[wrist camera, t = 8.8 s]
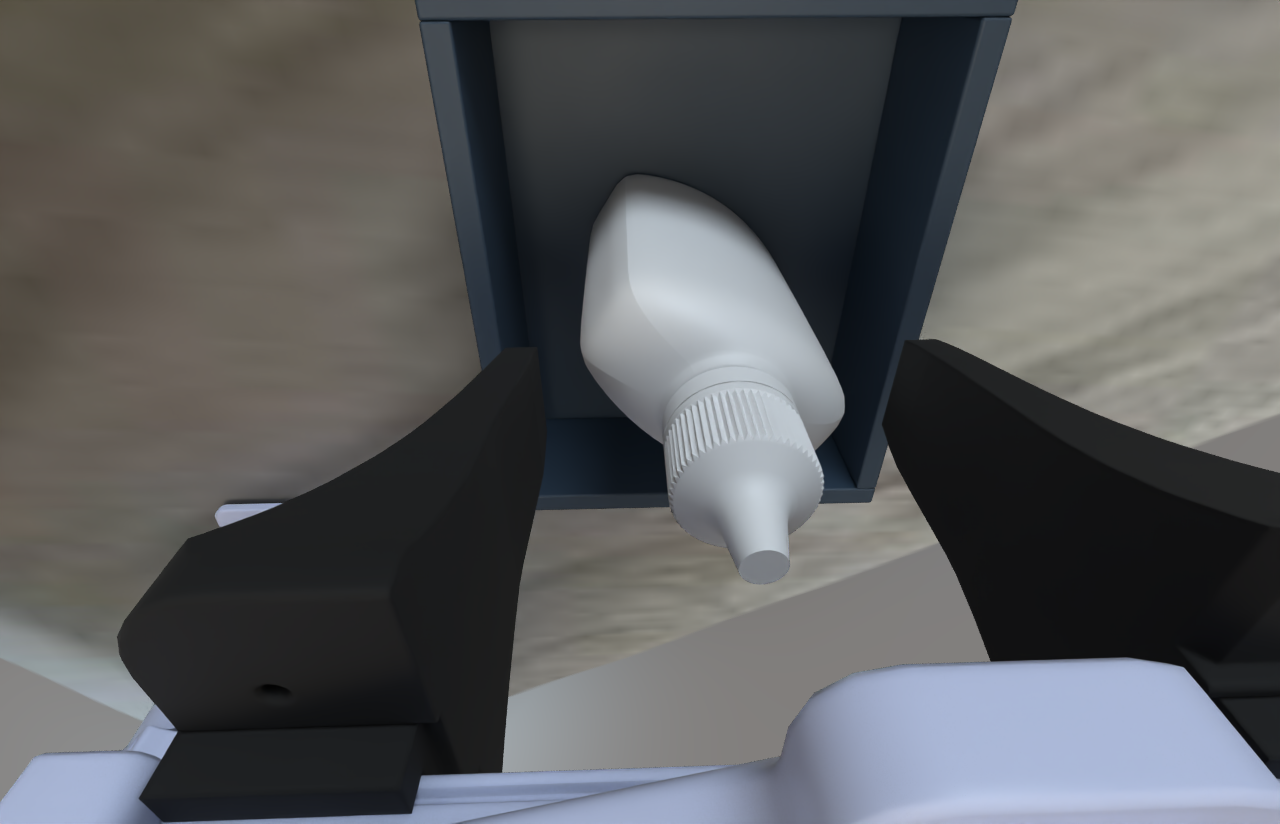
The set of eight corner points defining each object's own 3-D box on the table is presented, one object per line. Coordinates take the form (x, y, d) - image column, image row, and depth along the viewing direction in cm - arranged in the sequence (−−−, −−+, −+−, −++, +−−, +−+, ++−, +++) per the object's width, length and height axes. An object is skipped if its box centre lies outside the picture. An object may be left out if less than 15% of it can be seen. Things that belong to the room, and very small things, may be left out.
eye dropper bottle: (663, 353, 20) (704, 707, 10) (572, 201, 17) (511, 493, 7) (788, 294, 19) (966, 626, 9) (714, 121, 16) (861, 339, 6)
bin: (830, 417, 23) (872, 503, 19) (525, 424, 22) (506, 511, 19) (925, -22, 15) (1026, -23, 11) (462, -20, 15) (410, -19, 11)
